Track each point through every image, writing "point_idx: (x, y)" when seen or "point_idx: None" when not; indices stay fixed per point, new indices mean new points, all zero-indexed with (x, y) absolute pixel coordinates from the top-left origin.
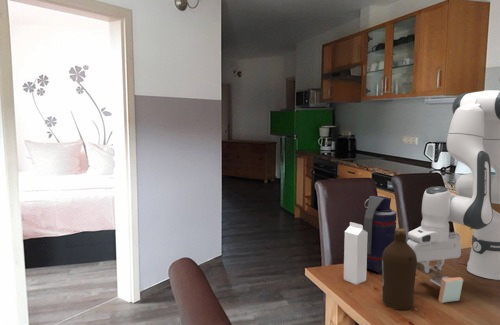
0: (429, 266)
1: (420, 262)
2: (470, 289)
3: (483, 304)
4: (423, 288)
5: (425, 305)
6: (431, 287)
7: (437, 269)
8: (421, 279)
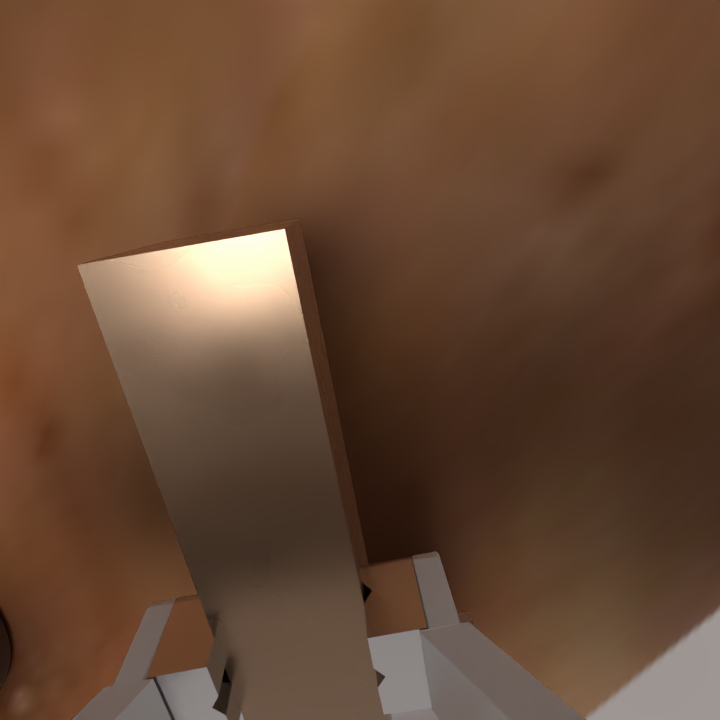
0: (271, 591)
1: (160, 352)
2: (707, 430)
3: (578, 655)
4: None
5: (120, 665)
6: (348, 364)
7: (351, 714)
8: (347, 124)
